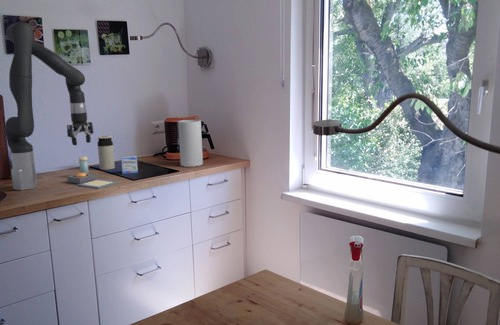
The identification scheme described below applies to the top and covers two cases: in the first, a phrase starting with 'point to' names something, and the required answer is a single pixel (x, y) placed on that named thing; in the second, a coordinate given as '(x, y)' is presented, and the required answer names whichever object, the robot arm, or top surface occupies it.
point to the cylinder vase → (190, 143)
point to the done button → (80, 174)
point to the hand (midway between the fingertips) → (81, 143)
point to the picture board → (97, 183)
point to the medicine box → (129, 165)
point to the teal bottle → (83, 165)
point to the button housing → (80, 179)
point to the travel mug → (106, 153)
